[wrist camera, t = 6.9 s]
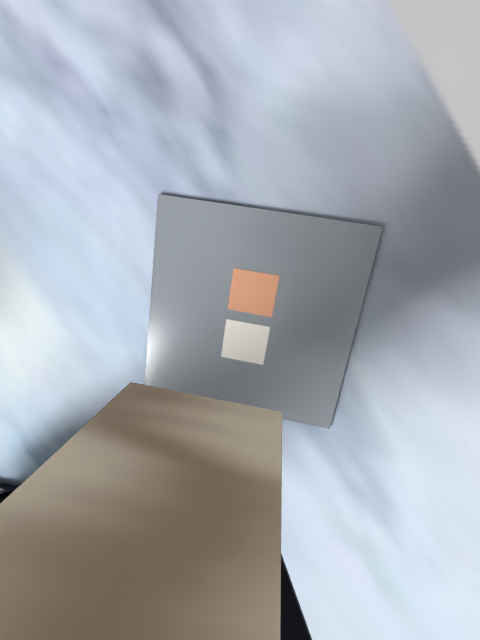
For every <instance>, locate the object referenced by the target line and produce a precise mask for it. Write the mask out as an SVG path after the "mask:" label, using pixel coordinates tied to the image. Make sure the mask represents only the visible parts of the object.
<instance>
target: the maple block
mask: <svg viewBox="0 0 480 640" xmlns="http://www.w3.org/2000/svg"><path fill="white" fill-rule="evenodd" d="M281 486H282V412H280V411H275V410H270V409H265V408H259V407H254V406H249V405H244V404H239V403H234V402H229V401H224V400H219V399H213V398H208V397H203V396H198V395H193V394H188V393H183V392H178V391H173V390H167V389H162V388H157V387H152V386H147V385H142V384H137V383H132V382H131V383H130V384H129V385H127V386H126V387H125V388H124V389H123V390H122V391H121V392H120V393H119V394H118V395H117V396H116V397H115V398H113V399H112V400H111V401H110V402H109V403H108V404H107V405H106V406H105V407H104V408H103V409H102V410H101V411H100V412H98V413H97V414H96V415H95V416H94V417H93V418H92V419H91V420H90V421H89V422H88V423H87V424H86V425H84V426H83V427H82V428H81V429H80V430H79V431H78V432H77V433H76V434H75V435H74V436H73V437H72V438H70V439H69V440H68V441H67V442H66V443H65V444H64V445H63V446H62V447H61V448H60V449H59V450H58V451H56V452H55V453H54V454H53V455H52V456H51V457H50V458H49V459H48V460H47V461H46V462H45V463H44V464H42V465H41V466H40V467H39V468H38V469H37V470H36V471H35V472H34V473H33V474H32V475H31V476H30V477H28V478H27V479H26V480H25V481H24V482H23V483H22V484H21V485H20V486H19V487H18V488H17V489H16V490H14V491H13V492H12V493H11V494H10V495H9V496H8V497H7V498H6V499H5V500H4V501H3V502H2V503H1V504H0V640H280V614H281Z"/></svg>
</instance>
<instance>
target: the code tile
mask: <svg viewBox="0 0 480 640" xmlns="http://www.w3.org/2000/svg"><path fill="white" fill-rule="evenodd" d="M382 228H383V227H382V226H375V225H368V224H361V223H354V222H347V221H340V220H334V219H327V218H320V217H313V216H306V215H299V214H292V213H286V212H279V211H272V210H265V209H258V208H251V207H244V206H237V205H231V204H224V203H217V202H210V201H203V200H196V199H189V198H182V197H176V196H169V195H162V194H158V203H157V217H156V231H155V246H154V260H153V274H152V288H151V302H150V316H149V331H148V345H147V359H146V373H145V385H147V386H152V387H157V388H162V389H167V390H173V391H178V392H183V393H188V394H193V395H198V396H203V397H208V398H213V399H219V400H224V401H229V402H234V403H239V404H244V405H249V406H254V407H259V408H265V409H270V410H275V411H280V412H282V419H287V420H292V421H296V422H301V423H306V424H311V425H315V426H320V427H325V428H329V429H330V426H331V422H332V419H333V415H334V411H335V407H336V403H337V399H338V396H339V392H340V388H341V384H342V380H343V377H344V373H345V369H346V365H347V361H348V358H349V354H350V350H351V346H352V342H353V338H354V335H355V331H356V327H357V323H358V319H359V316H360V312H361V308H362V304H363V300H364V297H365V293H366V289H367V285H368V281H369V277H370V274H371V270H372V266H373V262H374V258H375V255H376V251H377V247H378V243H379V239H380V236H381V232H382Z"/></svg>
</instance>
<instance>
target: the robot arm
mask: <svg viewBox="0 0 480 640" xmlns="http://www.w3.org/2000/svg"><path fill="white" fill-rule="evenodd" d="M16 489H17V488H16V487H12V486H8V485H4V484H0V504H1V503H2V502H3V501H4V500H5V499H6V498H7V497H8V496H9V495H10V494H11V493H12V492H13V491H14V490H16ZM280 640H312V638H311V635H310V632H309V630H308V627H307V624H306V621H305V618H304V616H303V613H302V610H301V607H300V604H299V602H298V599H297V596H296V593H295V590H294V588H293V585H292V582H291V579H290V576H289V574H288V571H287V568H286V565H285V562H284V560H283V557H282V554H281V614H280Z"/></svg>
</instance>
